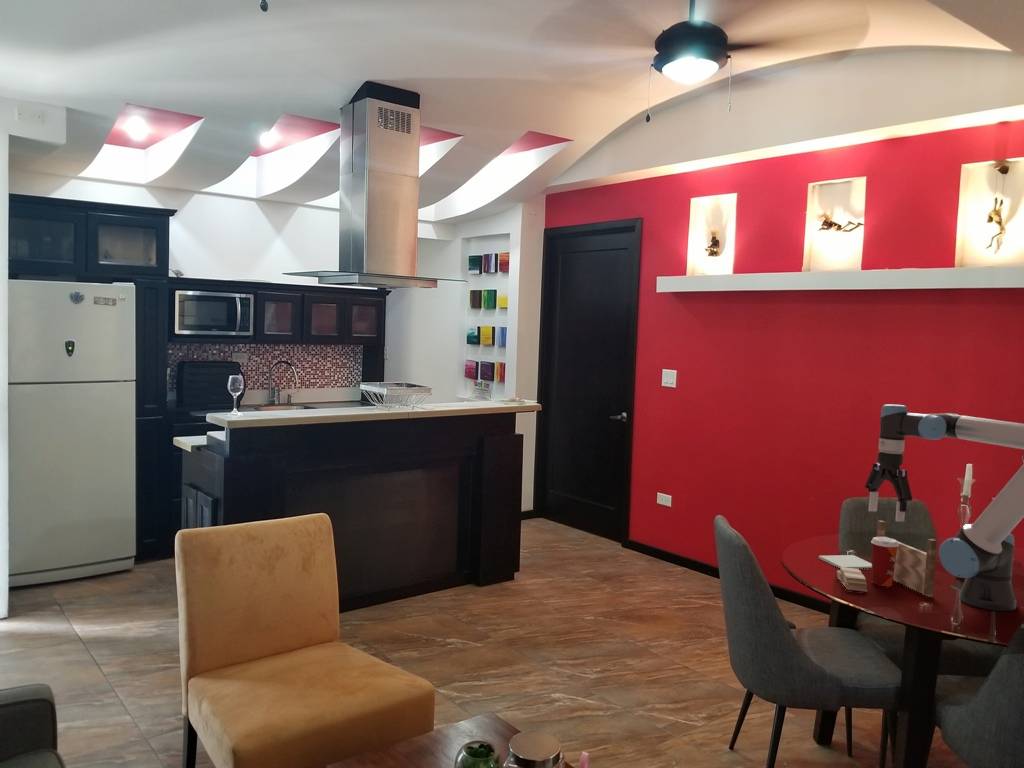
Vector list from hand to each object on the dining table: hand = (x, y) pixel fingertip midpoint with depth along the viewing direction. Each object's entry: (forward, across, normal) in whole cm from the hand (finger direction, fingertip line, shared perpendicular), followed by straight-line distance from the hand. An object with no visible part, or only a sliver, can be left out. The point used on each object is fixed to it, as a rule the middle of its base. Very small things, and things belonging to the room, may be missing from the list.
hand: (885, 516), depth 259 cm
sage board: (+23, -23, +3) cm, 32 cm away
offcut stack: (+23, 0, -11) cm, 25 cm away
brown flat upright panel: (+23, 0, +8) cm, 24 cm away
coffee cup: (+23, 0, 0) cm, 23 cm away
